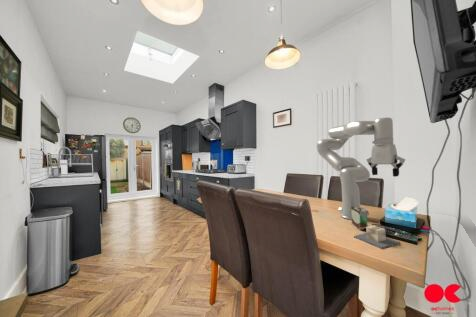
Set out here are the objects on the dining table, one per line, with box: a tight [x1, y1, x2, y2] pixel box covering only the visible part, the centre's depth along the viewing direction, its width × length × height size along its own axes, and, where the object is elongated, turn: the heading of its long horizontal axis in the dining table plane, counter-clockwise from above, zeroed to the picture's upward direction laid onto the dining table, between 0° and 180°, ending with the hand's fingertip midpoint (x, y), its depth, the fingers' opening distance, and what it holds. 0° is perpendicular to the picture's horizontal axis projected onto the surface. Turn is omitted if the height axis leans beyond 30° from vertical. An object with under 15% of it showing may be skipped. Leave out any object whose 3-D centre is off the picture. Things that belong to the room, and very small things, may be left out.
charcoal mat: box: [353, 232, 401, 250], centre depth 82 cm, size 12×12×1 cm
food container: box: [351, 206, 370, 231], centre depth 97 cm, size 12×6×10 cm, turn 168°
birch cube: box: [365, 224, 387, 242], centre depth 82 cm, size 5×5×5 cm
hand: (384, 175), depth 92 cm, fingers open, 9 cm apart
